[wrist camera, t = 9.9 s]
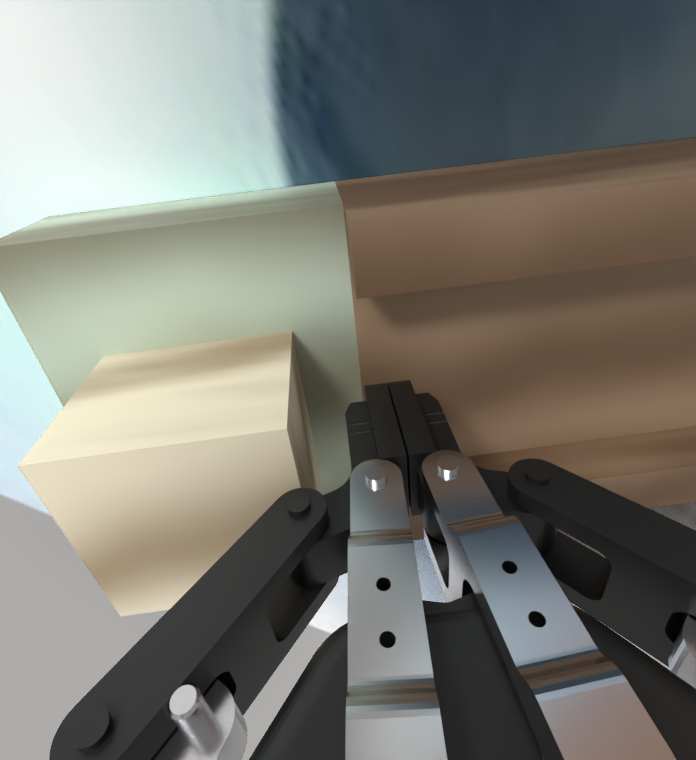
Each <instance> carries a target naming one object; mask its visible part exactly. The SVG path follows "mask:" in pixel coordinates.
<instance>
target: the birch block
mask: <svg viewBox="0 0 696 760" xmlns="http://www.w3.org/2000/svg"><path fill="white" fill-rule="evenodd" d="M18 468H19V469H20V471H21V472H22V474H23V475H24V476H25V478H26V479H27V481H28V482H29V484H30V485H31V487H32V488H33V490H34V491H35V492H36V494H37V495H38V497H39V498H40V500H41V501H42V503H43V504H44V506H45V507H46V508H47V510H48V511H49V513H50V514H51V516H52V517H53V519H54V520H55V521H56V523H57V524H58V526H59V527H60V529H61V530H62V532H63V533H64V535H65V536H66V537H67V539H68V540H69V542H70V543H71V545H72V546H73V548H74V549H75V551H76V552H77V553H78V555H79V556H80V558H81V559H82V561H83V562H84V564H85V565H86V567H87V568H88V569H89V571H90V572H91V574H92V575H93V577H94V578H95V580H96V581H97V583H98V584H99V585H100V587H101V588H102V590H103V591H104V593H105V594H106V596H107V597H108V598H109V600H110V601H111V603H112V604H113V606H114V607H115V609H116V610H117V611H118V613H119V615H120V616H127V615H134V614H140V613H148V612H155V611H162V610H169V609H171V607H172V606H173V605H174V604H175V603H176V602H177V601H178V600H179V599H180V598H181V597H182V596H183V595H184V594H185V593H186V592H187V591H188V590H189V589H190V588H191V587H192V586H193V585H194V584H195V583H196V582H197V581H198V580H199V579H200V578H201V577H202V576H203V575H204V574H205V573H206V572H207V571H208V570H209V569H210V568H211V567H212V566H213V565H214V564H215V563H216V562H217V560H218V559H219V558H220V557H221V556H222V555H223V554H224V553H225V552H226V551H227V550H228V549H229V548H230V547H231V546H232V545H233V544H234V543H235V542H236V541H237V540H238V539H239V538H240V537H241V536H242V535H243V534H244V533H245V532H246V531H247V530H248V529H249V528H250V527H251V526H252V525H253V524H254V523H255V522H256V521H257V520H258V519H259V518H260V517H261V516H262V515H263V513H264V512H265V511H266V510H267V509H268V508H269V507H270V506H271V505H272V504H273V503H274V502H275V501H276V500H277V499H278V498H279V497H280V496H282V495H283V494H284V493H286V492H288V491H290V490H293V489H297V488H311V489H314V490H317V491H318V492H320V478H319V466H318V461H317V456H316V451H315V445H314V440H313V435H312V430H311V425H310V420H309V415H308V410H307V405H306V399H305V394H304V389H303V384H302V379H301V374H300V369H299V364H298V359H297V353H296V348H295V343H294V338H293V333H292V331H287V332H279V333H272V334H265V335H257V336H250V337H242V338H235V339H228V340H220V341H213V342H206V343H198V344H191V345H183V346H176V347H169V348H161V349H154V350H147V351H139V352H132V353H124V354H117V355H110V356H103V358H102V359H101V360H100V361H99V363H98V364H97V365H96V366H95V368H94V369H93V370H92V372H91V373H90V374H89V375H88V377H87V378H86V379H85V380H84V382H83V383H82V384H81V386H80V387H79V388H78V389H77V391H76V392H75V393H74V394H73V396H72V397H71V398H70V399H69V401H68V402H67V403H66V405H65V406H64V407H63V408H62V410H61V411H60V412H59V413H58V415H57V416H56V417H55V419H54V420H53V421H52V422H51V424H50V425H49V426H48V427H47V429H46V430H45V431H44V433H43V434H42V435H41V436H40V438H39V439H38V440H37V441H36V443H35V444H34V445H33V447H32V448H31V449H30V450H29V452H28V453H27V454H26V455H25V457H24V458H23V459H22V461H21V462H20V463H19V464H18Z"/></svg>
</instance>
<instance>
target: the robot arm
mask: <svg viewBox="0 0 696 760" xmlns="http://www.w3.org/2000/svg"><path fill="white" fill-rule="evenodd" d="M364 391H365V401H361V402H353V403H350V405H349V406H348V408H347V410H346V412H345V417H346V425H347V434H348V442H349V451H350V459H351V474H350V477H349V478H348V480H347V481H346V482H345V483H344V484H343V485H342V486H341V487H339V488H338V489H336V490H334V491H332V492H330V493H327V494H325V495H322V494H321V493H320V492H318V491H317V490H314V489H311V488H297V489H293V490H290V491H288V492H286V493H284V494H283V495H282V496H280V497H279V498H278V499H277V500H276V501H275V502H274V503H273V504H272V505H271V506H270V507H269V508H268V509H267V510H266V511H265V512H264V513H263V515H262V516H261V517H260V518H259V519H258V520H257V521H256V522H255V523H254V524H253V525H252V526H251V527H250V528H249V529H248V530H247V531H246V532H245V533H244V534H243V535H242V536H241V537H240V538H239V539H238V540H237V541H236V542H235V543H234V544H233V545H232V546H231V547H230V548H229V549H228V550H227V551H226V552H225V553H224V554H223V555H222V556H221V557H220V558H219V559H218V560H217V562H216V563H215V564H214V565H213V566H212V567H211V568H210V569H209V570H208V571H207V572H206V573H205V574H204V575H203V576H202V577H201V578H200V579H199V580H198V581H197V582H196V583H195V584H194V585H193V586H192V587H191V588H190V589H189V590H188V591H187V592H186V593H185V594H184V595H183V596H182V597H181V598H180V599H179V600H178V601H177V602H176V603H175V604H174V605H173V606H172V607H171V609H170V610H169V611H168V612H167V613H166V614H165V615H164V616H163V617H162V618H161V619H160V620H159V621H158V622H157V623H156V624H155V625H154V626H153V627H152V628H151V629H150V630H149V631H148V632H147V633H146V634H145V635H144V636H143V637H142V638H141V639H140V640H139V641H138V642H137V643H136V644H135V645H134V646H133V647H132V648H131V650H129V652H127V654H126V655H125V656H124V657H123V658H122V659H121V660H120V661H119V662H118V663H117V664H116V665H115V666H114V667H113V668H112V669H111V670H110V671H109V672H108V673H107V674H106V675H105V676H104V677H103V678H102V679H101V680H100V681H99V682H98V683H97V684H96V685H95V686H94V687H93V688H92V689H91V690H90V691H89V692H88V693H87V694H86V695H85V696H84V697H83V698H82V699H81V701H80V702H79V703H78V704H77V705H76V706H75V707H74V708H73V709H72V710H71V711H70V712H69V714H68V715H67V716H66V717H65V719H64V720H63V721H62V723H61V725H60V726H59V728H58V730H57V732H56V735H55V736H54V739H53V742H52V745H51V750H50V760H241V759H242V757H243V754H244V751H245V748H246V744H247V726H246V722H245V719H244V717H243V715H244V714H245V712H246V711H247V709H248V708H249V706H250V705H251V704H252V702H253V701H254V700H255V698H256V697H257V695H258V694H259V693H260V691H261V690H262V688H263V687H264V685H265V684H266V683H267V681H268V680H269V678H270V677H271V676H272V674H273V673H274V671H275V670H276V669H277V667H278V666H279V664H280V663H281V662H282V660H283V659H284V657H285V656H286V655H287V653H288V652H289V650H290V649H291V648H292V646H293V644H294V643H295V642H296V640H297V639H298V637H299V636H300V635H301V633H302V632H303V631H304V629H305V628H306V626H307V625H308V624H309V622H310V621H311V619H312V618H313V617H314V615H315V614H316V612H317V611H318V610H319V608H320V607H321V605H322V604H323V602H324V601H325V600H326V598H327V597H328V595H329V594H330V593H331V591H332V590H333V588H334V587H335V585H336V584H337V582H338V579H339V576H340V575H343V574H345V573H347V572H348V623H346V624H345V625H343V626H341V627H340V628H339V629H337V630H336V631H335V632H333V633H332V634H331V635H330V636H329V637H328V638H327V639H326V640H325V641H324V642H323V644H322V645H321V646H320V647H319V648H318V650H317V651H316V652H315V654H314V655H313V657H312V659H311V660H310V662H309V663H308V665H307V667H306V669H305V670H304V672H303V673H302V675H301V676H300V678H299V680H298V681H297V683H296V684H295V686H294V688H293V689H292V691H291V693H290V694H289V696H288V697H287V699H286V701H285V702H284V704H283V705H282V707H281V709H280V710H279V712H278V714H277V715H276V717H275V718H274V720H273V722H272V723H271V725H270V726H269V728H268V730H267V731H266V733H265V735H264V736H263V738H262V739H261V741H260V743H259V744H258V746H257V747H256V749H255V751H254V752H253V754H252V756H251V757H250V759H249V760H696V531H695V530H693V529H691V528H689V527H687V526H685V525H682V524H680V523H678V522H676V521H674V520H672V519H670V518H668V517H665V516H663V515H661V514H659V513H657V512H655V511H653V510H650V509H648V508H646V507H644V506H642V505H640V504H638V503H636V502H633V501H631V500H629V499H627V498H625V497H623V496H621V495H619V494H616V493H614V492H612V491H610V490H608V489H606V488H604V487H601V486H599V485H597V484H595V483H593V482H591V481H589V480H587V479H584V478H582V477H580V476H578V475H576V474H574V473H572V472H569V471H567V470H565V469H563V468H561V467H559V466H557V465H555V464H552V463H550V462H548V461H545V460H541V459H533V458H530V459H522V460H519V461H517V462H515V463H514V464H513V465H512V466H511V467H510V469H509V472H505V471H496V470H488V469H484V468H481V467H478V466H476V465H474V463H473V461H472V460H471V459H470V458H469V457H468V456H466V455H465V454H463V453H461V451H460V449H459V446H458V444H457V442H456V440H455V437H454V435H453V433H452V430H451V428H450V426H449V424H448V422H447V419H446V417H445V414H444V413H443V410H442V408H441V405H440V403H439V401H438V400H437V399H436V398H434V397H433V396H432V395H431V394H429V393H421V394H415V392H414V389H413V386H412V383H411V381H410V380H403V381H395V382H388V383H387V384H386V383H381V384H373V385H365V386H364ZM409 507H410V511H411V515H412V516H416V515H421V518H422V521H423V532H424V540H425V543H426V546H427V549H428V551H429V554H430V557H431V560H432V563H433V565H434V568H435V571H436V574H437V576H438V579H439V582H440V585H441V587H442V590H443V593H444V596H445V599H446V603H441V602H432V601H423V600H422V595H421V588H420V582H419V575H418V568H417V561H416V555H415V548H414V541H413V536H412V532H410V526H409V519H408V517H409V516H410V514H409ZM558 529H560V530H562V531H564V532H565V533H567V534H569V535H571V536H573V537H574V538H576V539H578V540H580V541H581V542H583V543H585V544H587V545H589V546H590V547H592V548H594V549H596V550H597V551H599V552H600V553H602V554H603V555H604V556H605V557H606V558H607V559H606V558H604V557H603V556H601V555H599V554H597V553H596V552H594V551H592V550H590V549H588V548H587V547H585V546H583V545H581V544H580V543H578V542H576V541H574V540H573V539H571V538H569V537H567V536H566V535H564V534H562V533H560V532H559V531H558ZM569 601H570V602H572V603H573V604H575V605H576V606H578V607H579V608H581V609H582V610H581V609H579V608H577V607H575V606H573V605H571V604H570V602H569ZM583 610H584V611H585V612H584V611H583ZM586 612H587V613H586ZM589 614H590V615H589ZM592 616H593V617H592ZM595 618H596V619H595ZM598 620H599V621H598ZM601 622H602V623H603V624H602V623H601ZM604 624H605V625H606V626H605V625H604ZM607 626H608V627H609V628H608V627H607ZM610 628H611V629H612V630H614V631H615V632H617V633H618V634H620V635H622V636H623V637H624V638H626V639H628V640H629V641H631V642H632V643H633V644H635V645H637V646H638V647H640V648H641V649H643V650H644V651H646V652H647V653H649V654H650V655H652V656H653V657H655V658H656V659H658V660H659V661H661V662H662V663H664V664H665V665H667V666H668V667H670V670H668V669H667V668H665V667H664V666H662V665H661V664H660V663H658V662H657V661H655V660H654V659H652V658H651V657H650V656H648V655H647V654H645V653H644V652H642V651H641V650H639V649H638V648H636V647H635V646H634V645H632V644H631V643H630V642H628V641H627V640H625V639H624V638H622V637H621V636H620V635H618V634H617V633H615V632H614V631H612V630H611V629H610Z"/></svg>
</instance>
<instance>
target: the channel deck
mask: <svg viewBox="0 0 696 760" xmlns="http://www.w3.org/2000/svg"><path fill="white" fill-rule="evenodd" d="M0 292H1V293H2V295H3V297H4V299H5V301H6V303H7V304H8V306H9V308H10V310H11V312H12V313H13V315H14V317H15V319H16V321H17V323H18V324H19V326H20V328H21V330H22V332H23V334H24V335H25V337H26V339H27V341H28V343H29V344H30V346H31V348H32V350H33V352H34V354H35V355H36V357H37V359H38V361H39V363H40V365H41V366H42V368H43V370H44V372H45V374H46V376H47V377H48V379H49V381H50V383H51V385H52V386H53V388H54V390H55V392H56V394H57V396H58V397H59V399H60V401H61V403H62V405H63V407H64V406H65V405H66V403H67V402H68V401H69V399H70V398H71V397H72V396H73V394H74V393H75V392H76V391H77V389H78V388H79V387H80V386H81V384H82V383H83V382H84V380H85V379H86V378H87V377H88V375H89V374H90V373H91V372H92V370H93V369H94V368H95V366H96V365H97V364H98V363H99V361H100V360H101V359H102V358H103V356H110V355H117V354H124V353H132V352H139V351H147V350H154V349H161V348H169V347H176V346H183V345H191V344H198V343H206V342H213V341H220V340H228V339H235V338H242V337H250V336H257V335H265V334H272V333H279V332H287V331H292V333H293V338H294V343H295V348H296V353H297V359H298V364H299V369H300V374H301V379H302V384H303V389H304V394H305V399H306V405H307V410H308V415H309V420H310V425H311V430H312V435H313V440H314V445H315V451H316V456H317V461H318V466H319V478H320V493H321V494H322V495H325V494H327V493H330V492H332V491H334V490H336V489H338V488H339V487H341V486H342V485H343V484H344V483H345V482H346V481H347V480H348V478H349V477H350V474H351V459H350V451H349V442H348V434H347V425H346V417H345V412H346V410H347V408H348V406H349V405H350V403H353V402H361V401H365V391H364V386H365V385H373V384H381V383H386V384H387V383H388V382H395V381H403V380H410V381H411V383H412V386H413V389H414V392H415V394H421V393H429V394H431V395H432V396H433V397H434V398H436V399H437V400H438V401H439V403H440V405H441V408H442V410H443V413H444V414H445V417H446V419H447V422H448V424H449V426H450V428H451V430H452V433H453V435H454V437H455V440H456V442H457V444H458V446H459V449H460V451H461V453H463V454H465V455H466V456H468V457H469V458H470V459H471V460H472V461H473V463H474V465H476V466H478V467H481V468H484V469H488V470H496V471H505V472H509V469H510V467H511V466H512V465H513V464H514V463H515V462H517V461H519V460H522V459H530V458H533V459H541V460H545V461H548V462H550V463H552V464H555V465H557V466H559V467H561V468H563V469H565V470H567V471H569V472H572V473H574V474H576V475H578V476H580V477H582V478H584V479H587V480H589V481H591V482H593V483H595V484H597V485H599V486H601V487H604V488H606V489H608V490H610V491H612V492H614V493H616V494H619V495H621V496H623V497H625V498H627V499H629V500H631V501H633V502H636V503H638V504H640V505H642V506H644V507H646V508H653V507H661V506H668V505H675V504H683V503H690V502H696V137H692V138H684V139H676V140H668V141H660V142H652V143H643V144H635V145H627V146H619V147H611V148H603V149H595V150H587V151H578V152H570V153H562V154H554V155H546V156H538V157H530V158H521V159H513V160H505V161H497V162H489V163H481V164H473V165H464V166H456V167H448V168H440V169H432V170H424V171H416V172H407V173H399V174H391V175H383V176H375V177H367V178H359V179H351V180H342V181H334V182H326V183H318V184H310V185H302V186H294V187H285V188H277V189H269V190H261V191H253V192H245V193H237V194H228V195H220V196H212V197H204V198H196V199H188V200H180V201H171V202H163V203H155V204H147V205H139V206H131V207H123V208H115V209H106V210H98V211H90V212H82V213H74V214H66V215H58V216H49V217H47V218H44V219H42V220H40V221H38V222H36V223H33V224H31V225H29V226H27V227H25V228H22V229H20V230H18V231H16V232H14V233H11V234H9V235H7V236H5V237H2V238H0ZM409 514H410V516H409V517H408V519H409V526H410V532H412V536H413V540H419V539H424V532H423V521H422V518H421V515H416V516H412V515H411V511H410V507H409Z"/></svg>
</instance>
